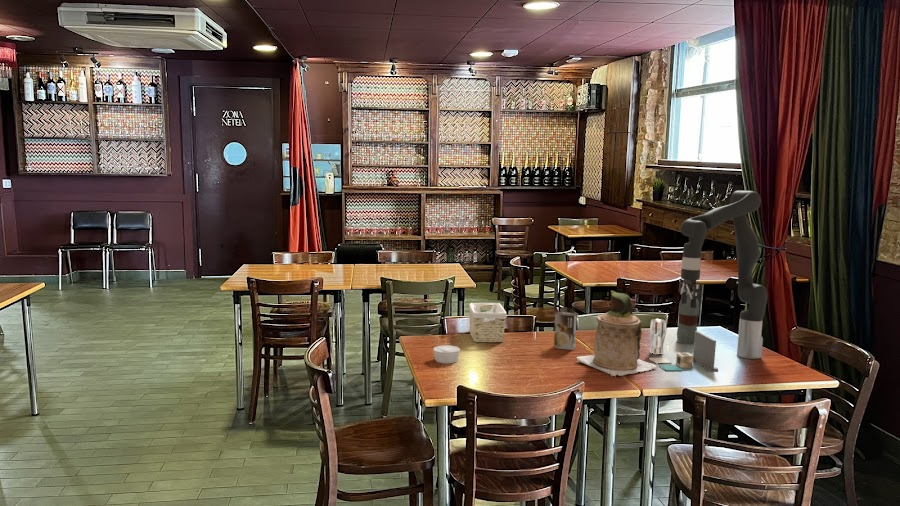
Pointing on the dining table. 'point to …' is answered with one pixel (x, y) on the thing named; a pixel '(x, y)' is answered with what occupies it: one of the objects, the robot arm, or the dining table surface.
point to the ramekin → (446, 354)
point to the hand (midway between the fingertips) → (688, 305)
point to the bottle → (687, 322)
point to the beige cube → (684, 359)
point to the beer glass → (657, 335)
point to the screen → (704, 351)
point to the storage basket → (487, 322)
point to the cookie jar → (618, 340)
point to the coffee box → (565, 330)
